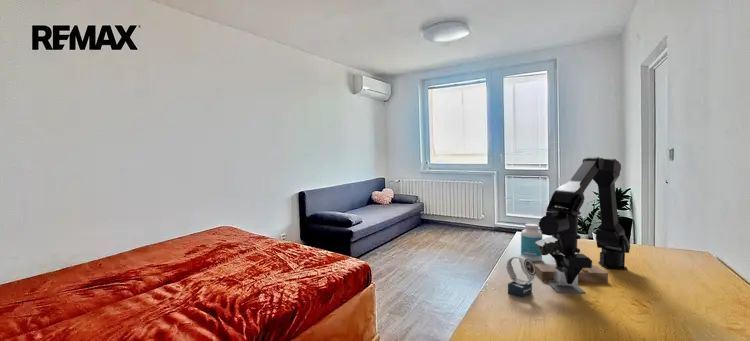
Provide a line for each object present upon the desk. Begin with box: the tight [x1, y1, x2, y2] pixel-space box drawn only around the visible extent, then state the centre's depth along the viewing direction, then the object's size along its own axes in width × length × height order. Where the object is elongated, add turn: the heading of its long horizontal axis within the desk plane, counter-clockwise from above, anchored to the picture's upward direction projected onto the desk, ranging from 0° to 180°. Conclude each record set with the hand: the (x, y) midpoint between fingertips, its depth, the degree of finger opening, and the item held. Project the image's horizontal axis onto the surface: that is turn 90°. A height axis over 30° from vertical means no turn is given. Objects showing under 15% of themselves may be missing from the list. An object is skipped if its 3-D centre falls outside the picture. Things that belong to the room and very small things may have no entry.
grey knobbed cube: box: [553, 266, 579, 286], centre depth 103 cm, size 5×5×5 cm
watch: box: [505, 255, 536, 299], centre depth 99 cm, size 6×8×11 cm
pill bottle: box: [520, 223, 543, 263], centre depth 129 cm, size 8×7×14 cm
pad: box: [545, 281, 586, 294], centre depth 103 cm, size 8×8×1 cm
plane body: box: [533, 263, 609, 283], centre depth 111 cm, size 20×7×3 cm, turn 84°
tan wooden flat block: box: [576, 251, 589, 271], centre depth 110 cm, size 2×5×5 cm, turn 174°
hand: (565, 280), depth 103 cm, fingers closed on grey knobbed cube, 5 cm apart
